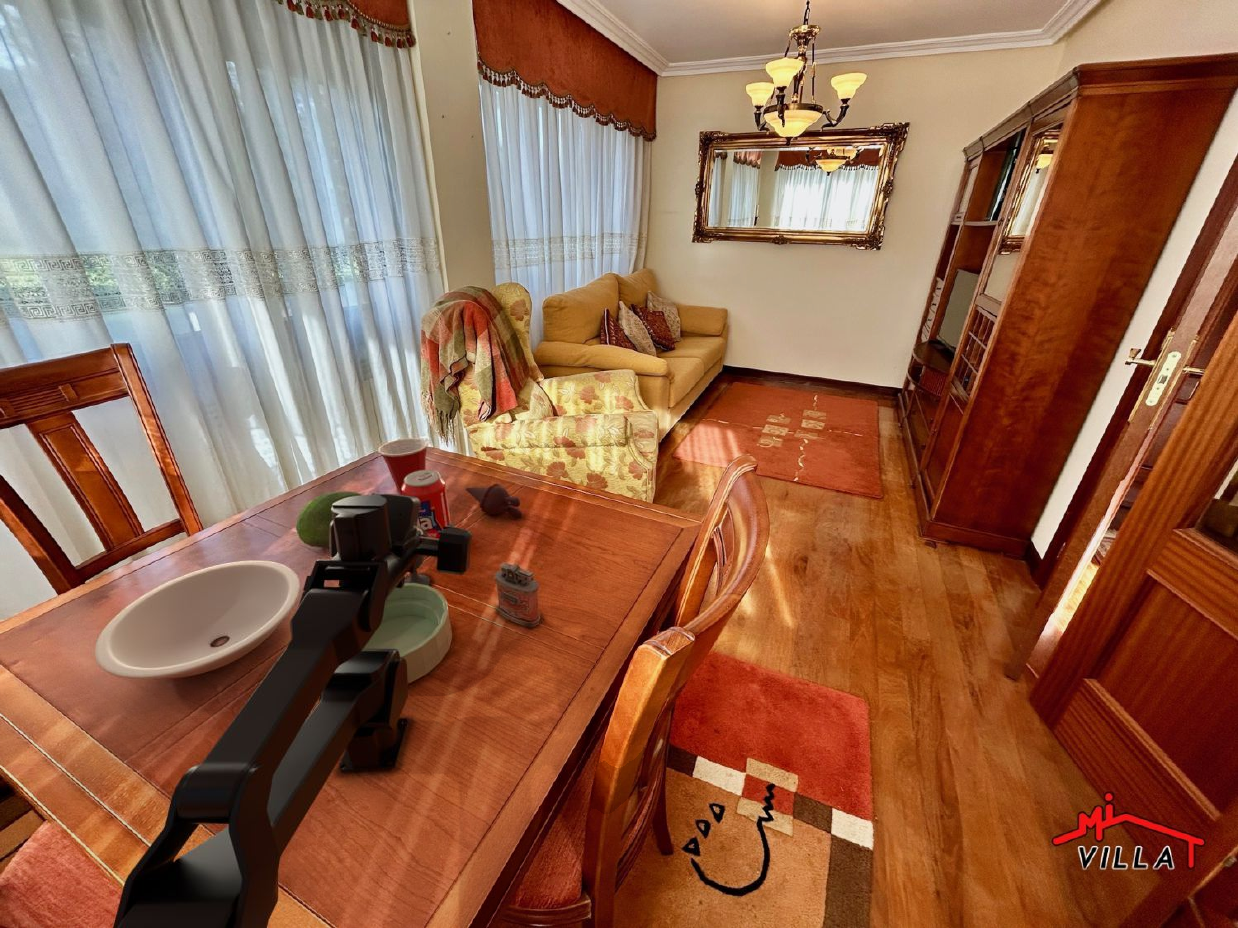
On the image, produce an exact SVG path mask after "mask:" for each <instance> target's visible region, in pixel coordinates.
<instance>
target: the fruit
mask: <svg viewBox="0 0 1238 928" xmlns="http://www.w3.org/2000/svg"><path fill="white" fill-rule="evenodd" d="M360 495H363V494H361V493H359V492H356V491H347V490H341V491H331V492H325V493H323V494H320V495H319V496H316V497H315V498H313V499H311V500H310V501H309V502H307V503H306V504H305V505H304V506H303V507H302V509H301V511H300V513H299V514H298V516H297V518H296V523H295V530H296V532H297V534H298V537H299V539H300V540H301V542H303V544H305V545H307V546H310V547H314V548H323V549H324V548H329V526H330V524H331V522H332V521H333V517H332V510H331V508H332V504H334V503H335V502H337V501H339V500H342V499H345V498H349V497H353V496H360Z"/></svg>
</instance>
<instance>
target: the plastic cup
mask: <svg viewBox="0 0 1238 928" xmlns="http://www.w3.org/2000/svg"><path fill="white" fill-rule="evenodd" d="M428 446H429V442H428V440H426V439H424V438H418V437H408V438H407V437H406V438H400V439H395V440H391V441H388V442H386V443H384V444H381V445H380V446H379V447H378V449H377V450H378V453H379V454H380V455H381V457H382V458H383V460H384V462H385V463H386V466H387V468H388V470H389V473H390V476H391V478H392V481H393V483H394V484H395V487H396V489H397V490H396V491H397V492H398V493H399V495H403V494H402V485H403V484H404V478H405V477H406V476H407V475H408V474H410V473H412V472H415V471H419V470H426V467H427V466H426V465H427V464H426V463H427V460H426V459H427V450H428Z"/></svg>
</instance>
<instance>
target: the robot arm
mask: <svg viewBox="0 0 1238 928" xmlns="http://www.w3.org/2000/svg"><path fill="white" fill-rule="evenodd" d="M420 506H421V502H420V500H419V499H418V498H417V497H412V496H404V495H401V494H397V493H375V492H372V493H371V494H364V495H363V494H362V495H360V496H353V497H349V498H345V499H342V500H339V501H337V502H335V503H334V504H332V508H331V510H332V517H333V521H332V522H331V524H330V526H329V547H328V549H329V550H328V553H329V556H330V557H331V559H316V560H315V562H314V565H313V567H312V569H311V571H310V575H306V578H305V580H304V581H305V582H304V586H303V589H302V592H301V596H300V599H299V604H298V606H297V609H296V610H295V612H294V613H293V615H292V617H291V618H290V621H289V630H290V640H289V642H288V643H287V646H286V647H285V649H284V650H283V652H282V653H281V654H280V656H278V659H277V660H276V661H275V663H274V664H273V665H272V666H271V668H270V669H269V670H268V672H267V673H266V675H265V676H264V678H263V679H262V680H261V682H260V683H259V684H258V685H257V687H256V688H255V689H254V691H253V692H252V694H251V695H250V696H249V698H248V699H247V701H246V702H245V703H244V705H243V706H242V708H240V710H239V711H238V713H237V714H236V715H235V717H234V718H233V719H232V721H231V722H230V724H229V725H228V726H227V728H225V730H224V732H223V733H222V735H221V736H220V737H219V738H218V740H217V741H216V742H215V744H214V745H213V747H212V748H211V749H210V751H209V752H208V754H206V756H205V757H204V758H203V760H202V761H201V763H200V764H195V765H194V766H191V767H190V768H188V770H187V771H186V772H185V773H184V774H183V775H182V776H181V778H180V779H179V781H178V783H177V784H176V786H175V788H174V791H173V793H172V797H171V798H170V803H169V807H168V809H167V810H168V811H167V814H166V819H165V823H164V826H163V828H162V830H161V831H160V833H159V834H158V835H157V836H156V838H155V839H154V841H153V842H152V843H151V845H150V846H149V847H148V848H147V850H146V851H145V852H144V854H143V855H142V856H141V858H140V859H139V861H138V862H137V863H136V864H135V866H134V867H133V868H132V869H131V871H130V872H129V874H128V875H127V877H126V879H125V880H124V884H123V886H122V887H123V888H122V891H121V896H120V900H119V902H118V906H117V911H116V915H115V919H114V922H113V926H112V928H268V925H269V922H270V919H271V916H272V914H273V912H274V910H275V908H276V906H277V904H278V901H279V869H280V863H281V857H282V855H283V853H284V852H285V851H286V848H287V847H288V845H289V844H290V841H292V838H293V837H294V835H295V833H296V831H298V829H299V827H300V825H301V824H302V822H303V821H304V818H305V817H306V815H307V814H308V812H309V810H310V809H311V807H312V805H313V804H314V802H315V800H316V798H317V797H318V795H319V793H320V792H321V791H322V789H323V787H324V785H325V784H326V782H327V781H328V779H329V777H330V775H331V774H332V773H333V771H334V769H335V767H336V766H337V764H338V763H339V761H340V763H339V766H338V771H339V773H343V774H344V773H354V772H357V773H358V772H368V771H383V770H393V769H394V768H395V767H396V765H397V762H398V760H399V756H400V753H401V749H402V747H403V743H404V741H405V736H406V734H407V730H408V727H409V724H410V721H409V719H408V718H407V717H404V718H403V717H401V714H402V712H403V710H404V707H405V705H406V702H407V700H408V697H409V690H408V688H409V687H408V686H409V683H407V662H406V660H405V659H401V658H400V653H399V652H398V650H397V649H363V648H364V647H365V646H366V644H367V643H368V642H369V640H370V639H371V637H372V636H373V634H374V633H375V631H376V630H377V629H378V628H379V627H380V625H381V622H382V619H383V614H384V607H385V601H386V599H387V598H388V597H389V595H390V594H391V593H392V592H393V590H394V589H395V588H402V587H403V586H404V582H405V579H406V575H407V574H408V573H409V574H410V573H413V572H414V571H415V570H416V560H417V559H418V557H419V555H424V556H425V557H435V558H436V571H437V573H440V574H447V575H448V574H449V575H456V576H457V575H458V576H463V575H465V574H466V573H467V572H468V570H469V568H470V566H471V553H472V540H473V534H472V532H471V531H470V530H468V529H462V528H460V527H455V523H454V522H451V523H450V524H449V525H448V527H445V526H444V527H443V530H442V532H441V533H440V537H439V539H435V538H427V537H421V531H418V530H417V528H416V527H417V522H418V515H419V509H420ZM427 543H428V544H427ZM436 544H437V545H436ZM325 581H338V584H337V586H325V583H326V582H325ZM400 717H401V718H400ZM342 755H343V756H342ZM341 757H342V759H341ZM340 759H341V760H340ZM200 825H226V826H225V827H224V828H223V829H222V830H221V831H219V832H217V833H216V834H215V835H212V836H211V837H209V838H208V839H206V840H204V841H203V842H201V843H200V844H198V845H197V846H195V847H193V848H192V849H190V850H189V851H187V852H186V853H184V854H182V855H181V856H179V857H178V858H176V857H177V855H178V854H179V853H180V851H182V849H183V848H184V846H185V845H186V844H187V842H188V841H189V840H190V838H191V837H192V835H193V834H194V832H196V830H197V829H198V827H199V826H200Z"/></svg>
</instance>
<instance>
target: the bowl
mask: <svg viewBox="0 0 1238 928" xmlns="http://www.w3.org/2000/svg"><path fill="white" fill-rule="evenodd" d="M452 639H453V631H452V625H451V620H450V612H449V607H448V601H447V598H446V597H445V596H444V595H443V594H442V593H441V591H440V590H437V589H436V588H434V587H432V586H430V585H429V586H428V585H423V584H417V583H404V586H403V587H402V588H395V589H394V590H393V592H392V593H391V594H390V595H389V597H388V598H387V599H386V601H385V607H384V614H383V619H382V622H381V625H380V627H379V628H378V629H377V630H376V631H375V633H374V634H373V636H372V637H371V639H370V640H369V642H368V643H367V644H366V646H365V647H364V648H363V649H397V650H398V652H399V653H400V658H401V659H405V660H406V662H407V683H408V684H411V683H413V682H415V681H417V680H418V679H420V678H422V677H424V676H426V675H428V673H430V672H431V671H432V670H433V669H435V668H436V666H438V664H441V662H442V660H443V659H444V657H445V656H446V654H447V653H448V651H449V650H450V648H451V643H452Z"/></svg>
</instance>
